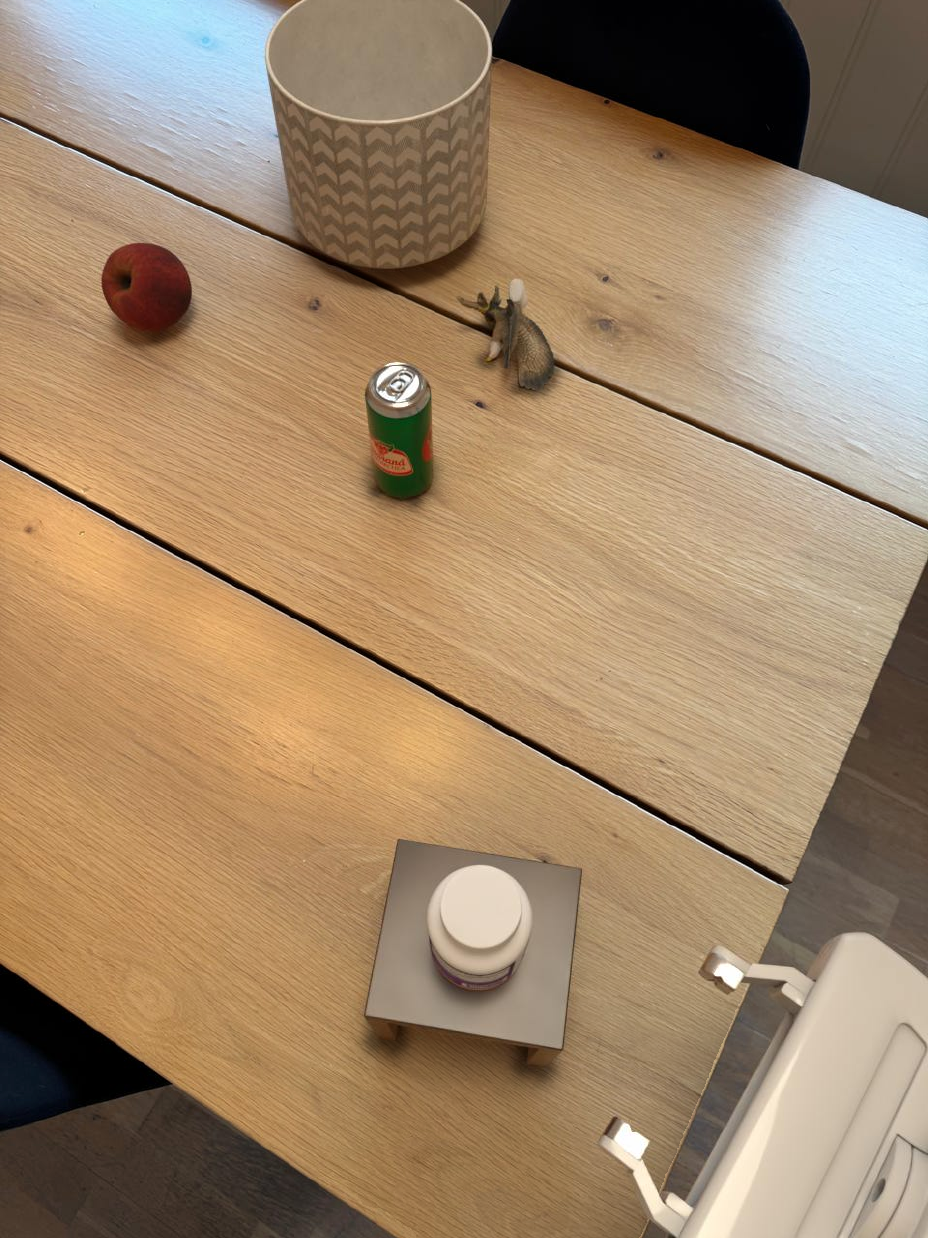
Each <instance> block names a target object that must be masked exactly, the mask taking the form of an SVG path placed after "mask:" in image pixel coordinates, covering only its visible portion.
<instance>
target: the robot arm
mask: <svg viewBox="0 0 928 1238" xmlns="http://www.w3.org/2000/svg"><path fill="white" fill-rule="evenodd" d="M697 973H698V974H699V976H700V977H701V978H703V979H704V980H705V981H706V982H713V984H714V987H715V988H717V989H718V990H719V991H721V992H722V993H724V994H725V995H726V996H728V995H730V994H731V993H733V992H735V991H737V989H738V988H739V986H740V984H741V983H742V984H750V985H756V986H758V985H759V986H766V987H772V990H771V991H770V993H769V999H770V1000H772V1001H773V1002H774V1003H776V1004H777V1005H778V1006H780V1007H782V1008H783V1009H784V1010H786V1013H785V1014H784V1017H783V1019H782V1020H781V1022H780V1024H779V1026H778V1028H777V1029H776V1031H775V1033H774V1034H773V1037H772V1038H771V1041H770V1042H769V1045H768V1046H767V1048H766V1049H765V1052H764V1053H763V1055H762V1057H761V1059H760V1061H759V1063H758V1065H757V1067H756V1068H755V1070H754V1072H753V1074H752V1075H751V1078H750V1079H749V1081H748V1083H747V1085H746V1087H745V1089H744V1090H743V1092H742V1094H741V1095H740V1098H739V1100H738V1102H737V1103H736V1105H735V1107H734V1109H733V1111H732V1113H731V1114H730V1116H729V1118H728V1121H727V1122H726V1123H725V1125H724V1127H723V1129H722V1130H721V1133H720V1135H719V1137H718V1139H717V1141H716V1142H715V1144H714V1146H713V1148H712V1150H711V1152H710V1153H709V1155H708V1157H707V1159H706V1161H705V1162H704V1164H703V1166H702V1168H701V1170H700V1172H699V1174H698V1176H697V1178H696V1179H695V1181H694V1183H693V1185H692V1187H691V1188H690V1191H688V1194H687V1196H686V1197H685V1200H683V1199H682V1198H680V1197H679V1196H678V1195H677V1194H676V1193H674V1192H671V1191H667V1190H661V1191H660V1192H659V1190H658V1189H657V1187H656V1185H655V1183H654V1181H653V1179H652V1176H651V1175H650V1172H649V1170H648V1169H647V1166H646V1165H645V1162H644V1160H643V1158H642V1157H643V1155H644V1153H645V1151H646V1150H647V1148H648V1146H649V1144H650V1142H651V1141H650V1140H649V1139H648V1138H646V1137H645V1136H644V1135H642V1133H640V1132H639V1131H632V1129H631V1126H630V1124H628V1123H627V1122H626V1121H624V1120H623V1119H621V1118H620V1117H618V1116H612V1117H611V1119H610V1120H609V1122H608V1124H607V1125H606V1128H605V1129H604V1131H603V1132H602V1133H601V1135H600V1137H599V1139H598V1141H597V1143H596V1147H598V1148H599V1149H600V1150H601V1151H602V1152H604V1154H606V1155H608V1157H610V1158H612V1159H613V1160H614V1161H615V1162H617V1163H618V1164H619V1165H621V1166H622V1167H623V1168H624V1169H625V1170H627V1171H626V1175H627V1177H628V1180H629V1182H630V1185H631V1186H632V1189H633V1191H634V1193H635V1195H636V1198H637V1200H638V1202H639V1204H640V1206H641V1209H642V1211H643V1212H644V1214H645V1217H646V1218H647V1219H648V1220H649V1221H651V1222H652V1223H653V1224H655V1225H656V1226H657V1227H658V1228H660V1229H661V1230H662V1231H664V1233H666V1235H665V1237H664V1238H928V977H927V976H926V975H924V973H922V972H921V971H920V970H918V968H916V967H915V966H914V965H913V964H912V963H910V962H909V961H908V960H907V959H906V958H904V957H903V956H901V955H900V954H899V953H898V952H896V951H895V950H894V949H893V948H891V947H890V946H888V945H887V944H886V943H884V942H883V941H881V940H880V939H879V938H878V937H876V936H874V935H873V934H871V933H868V932H864V931H851V932H843V933H841V934H838V935H836V936H834V937H832V938H830V939H829V940H827V941H826V942H825V943H824V944H823V945H822V946H821V949H820V950H819V952H818V954H817V955H816V957H815V958H814V961H813V963H812V965H811V967H810V969H809V970H808V972H807V973H806V975H805V974H804V973H802V972H801V971H799V970H798V969H797V968H795V967H793V966H784V965H777V964H776V965H775V964H766V963H765V964H763V963H754V962H752V963H749V962H747V961H745V960H744V959H742V958H741V957H739V956H738V955H737V954H735V953H734V952H732V951H731V950H729V949H728V948H727V947H725V946H723V945H720V944H715V945H714V946H713V947H711V949H710V951H709V952H708V954H707V956H706V957H705V959H704V961H703V963H702V965H700V968H699V970H698V972H697Z"/></svg>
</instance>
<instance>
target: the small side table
mask: <svg viewBox="0 0 928 1238" xmlns="http://www.w3.org/2000/svg"><path fill="white" fill-rule="evenodd" d="M474 865H487V866H491V867H495V868H497V869H500V870H502V871H504V872H506V873H508V874H509V875H510V876H512V877H513V878H514V879H515V880H516V881H517V882H518V883H519V884H520V885H521V887H522V888H523V889H524V891H525V893H526V895H527V897H528V899H529V902H530V905H531V910H532V930H531V935H530V939H529V942H528V944H527V947H526V950H525V953H524V956H523V959H522V961H521V963H520V965H519V966H518V968H517V970H516V971H515V972H514V974H513V975H512V976H511V977H510V978H509V979H507V980H506V981H505V982H504V983H502V984H500V985H499V986H496V987H494V988H491V989H487V990H469V989H465V988H462V987H460V986H457V985H455V984H454V983H452V982H451V981H449V980H448V979H447V978H446V977H445V976H444V975H443V974H442V973H441V971H440V970H439V969H438V967H437V965H436V963H435V961H434V959H433V956H432V953H431V948H430V940H429V933H428V928H427V912H428V907H429V903H430V900H431V898H432V895H433V893H434V892H435V890H436V888H437V887H438V885H439V884H440V883H441V882H442V881H443V880H444V879H445V878H446V877H447V876H448V875H450V874H451V873H453V872H455V871H456V870H459V869H461V868H464V867H468V866H474ZM582 876H583V869H582V868H581V867H575V866H570V865H563V864H558V863H551V862H545V861H538V860H532V859H528V858H519V857H514V856H508V855H501V854H496V853H489V852H484V851H483V852H482V851H477V850H470V849H464V848H459V847H452V846H445V845H439V844H434V843H426V842H420V841H414V840H408V839H400V838H398V839H397V841H396V846H395V851H394V857H393V862H392V866H391V873H390V876H389V877H390V878H389V882H388V887H387V888H388V889H387V892H386V898H385V904H384V908H383V914H382V919H381V924H380V930H379V934H378V940H377V945H376V950H375V955H374V961H373V965H372V971H371V976H370V981H369V986H368V992H367V997H366V1003H365V1007H364V1011H363V1012H364V1013H363V1017H364V1018H365V1020H366V1021H367V1023H368V1025H369V1026H370V1027H371V1029H372V1030H373V1032H374V1034H375V1035H376V1036H377V1038H380V1039H385V1040H392V1041H396V1040H397V1036H398V1030H399V1026H402V1027H408V1028H414V1029H419V1030H426V1031H432V1032H436V1033H437V1032H438V1033H443V1034H449V1035H455V1036H460V1037H466V1038H471V1039H478V1040H485V1041H489V1042H495V1043H501V1044H507V1045H513V1046H519V1047H523V1048H527V1057H526V1064H528V1065H534V1066H541V1067H545V1066H547V1065H548V1064H549V1063H550V1062H551V1061H552V1060H554V1059H556V1057H557V1056H558V1055H560V1054H561V1053H562V1052H563V1050H564V1045H565V1038H566V1037H565V1035H566V1027H567V1020H568V1019H567V1017H568V1007H569V1000H570V999H569V998H570V989H571V981H572V972H573V971H572V970H573V961H574V952H575V944H576V943H575V942H576V935H577V933H576V932H577V925H578V923H577V922H578V913H579V903H580V897H581V896H580V894H581V885H582Z"/></svg>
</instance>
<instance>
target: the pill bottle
mask: <svg viewBox="0 0 928 1238" xmlns="http://www.w3.org/2000/svg"><path fill="white" fill-rule="evenodd" d="M427 928H428V933H429V940H430V948H431V953H432V956H433V959H434V961H435V963H436V965H437V967H438V969H439V970H440V971H441V973H442V974H443V975H444V976H445V977H446V978H447V979H448V980H449V981H451V982H452V983H454V984H455V985H457V986H460V987H462V988H465V989H469V990H487V989H491V988H494V987H496V986H499V985H500V984H502V983H504V982H505V981H506V980H507V979H509V978H510V977H511V976H512V975H513V974H514V972H515V971H516V970H517V968H518V966H519V965H520V963H521V961H522V959H523V956H524V953H525V950H526V947H527V944H528V942H529V939H530V935H531V930H532V910H531V905H530V902H529V899H528V897H527V895H526V893H525V891H524V889H523V888H522V887H521V885H520V884H519V883H518V882H517V881H516V880H515V879H514V878H513V877H512V876H510V875H509V874H508V873H506V872H504V871H502V870H500V869H497V868H495V867H491V866H487V865H474V866H468V867H464V868H461V869H459V870H456V871H455V872H453V873H451V874H450V875H448V876H447V877H446V878H445V879H444V880H443V881H442V882H441V883H440V884H439V885H438V887H437V888H436V890H435V892H434V893H433V895H432V898H431V900H430V903H429V907H428V912H427Z"/></svg>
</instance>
